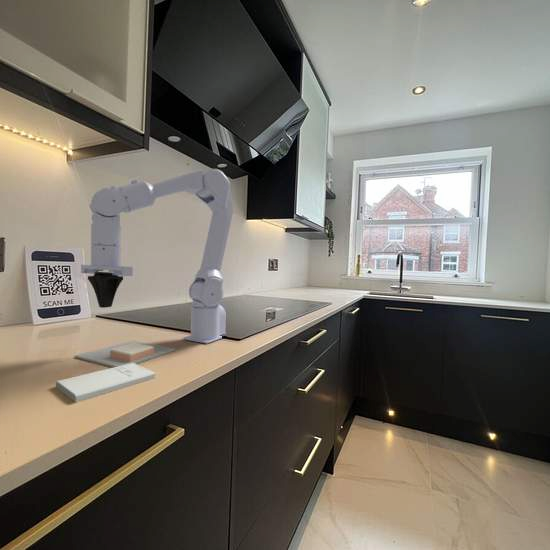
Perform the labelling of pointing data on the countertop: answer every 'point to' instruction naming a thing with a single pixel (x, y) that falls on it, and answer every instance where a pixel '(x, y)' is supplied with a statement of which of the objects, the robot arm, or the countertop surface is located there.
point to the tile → (132, 352)
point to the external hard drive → (103, 381)
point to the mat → (104, 358)
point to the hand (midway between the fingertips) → (105, 307)
